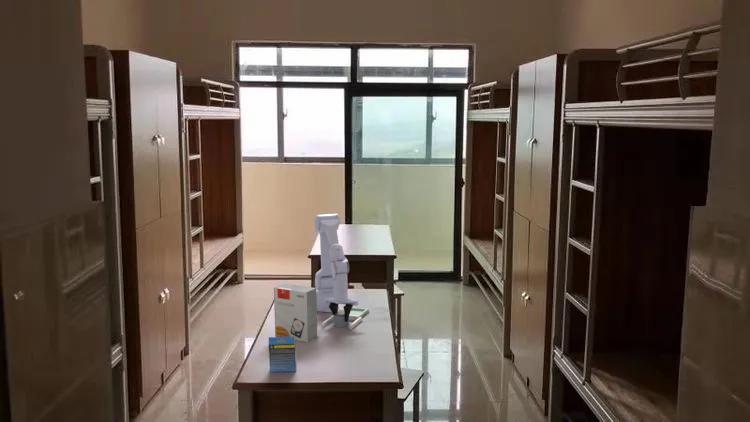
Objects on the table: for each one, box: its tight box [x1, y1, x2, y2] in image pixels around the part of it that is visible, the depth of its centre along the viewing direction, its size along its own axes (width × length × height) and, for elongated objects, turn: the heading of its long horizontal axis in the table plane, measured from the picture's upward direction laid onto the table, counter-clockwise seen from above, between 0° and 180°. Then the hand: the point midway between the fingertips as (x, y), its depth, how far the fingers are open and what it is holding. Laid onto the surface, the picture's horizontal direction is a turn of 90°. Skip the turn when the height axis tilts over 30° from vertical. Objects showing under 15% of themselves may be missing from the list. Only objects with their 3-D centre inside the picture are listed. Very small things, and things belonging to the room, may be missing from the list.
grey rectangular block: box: [333, 309, 350, 328], centre depth 272 cm, size 4×7×5 cm, turn 161°
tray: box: [349, 306, 370, 318], centre depth 286 cm, size 10×12×2 cm
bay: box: [321, 314, 363, 330], centre depth 274 cm, size 13×12×2 cm
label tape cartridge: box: [268, 336, 297, 373], centre depth 222 cm, size 9×4×12 cm, turn 92°
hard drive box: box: [273, 283, 318, 343], centre depth 256 cm, size 16×8×20 cm, turn 62°
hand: (341, 320), depth 273 cm, fingers closed on grey rectangular block, 4 cm apart
